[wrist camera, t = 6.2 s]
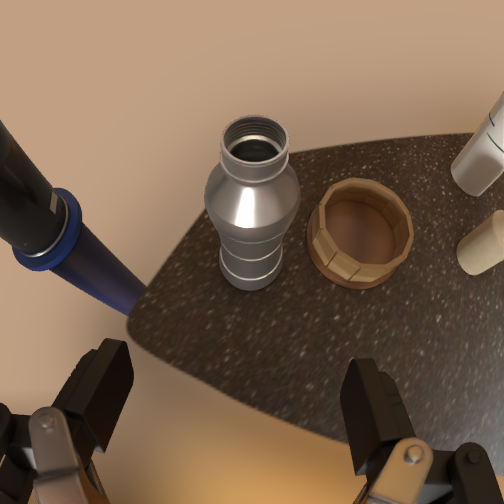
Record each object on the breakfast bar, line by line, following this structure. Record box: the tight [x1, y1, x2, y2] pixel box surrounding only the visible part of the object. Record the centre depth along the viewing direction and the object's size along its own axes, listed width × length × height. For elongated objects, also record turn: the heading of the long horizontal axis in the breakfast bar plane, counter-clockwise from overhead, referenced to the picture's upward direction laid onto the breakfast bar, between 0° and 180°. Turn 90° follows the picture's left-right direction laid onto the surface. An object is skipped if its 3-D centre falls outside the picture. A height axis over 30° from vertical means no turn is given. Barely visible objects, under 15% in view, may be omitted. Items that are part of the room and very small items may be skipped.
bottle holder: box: [306, 177, 414, 289], centre depth 33 cm, size 12×12×5 cm
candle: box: [456, 210, 504, 275], centre depth 30 cm, size 6×6×10 cm
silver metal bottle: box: [204, 115, 301, 290], centre depth 25 cm, size 6×7×20 cm
